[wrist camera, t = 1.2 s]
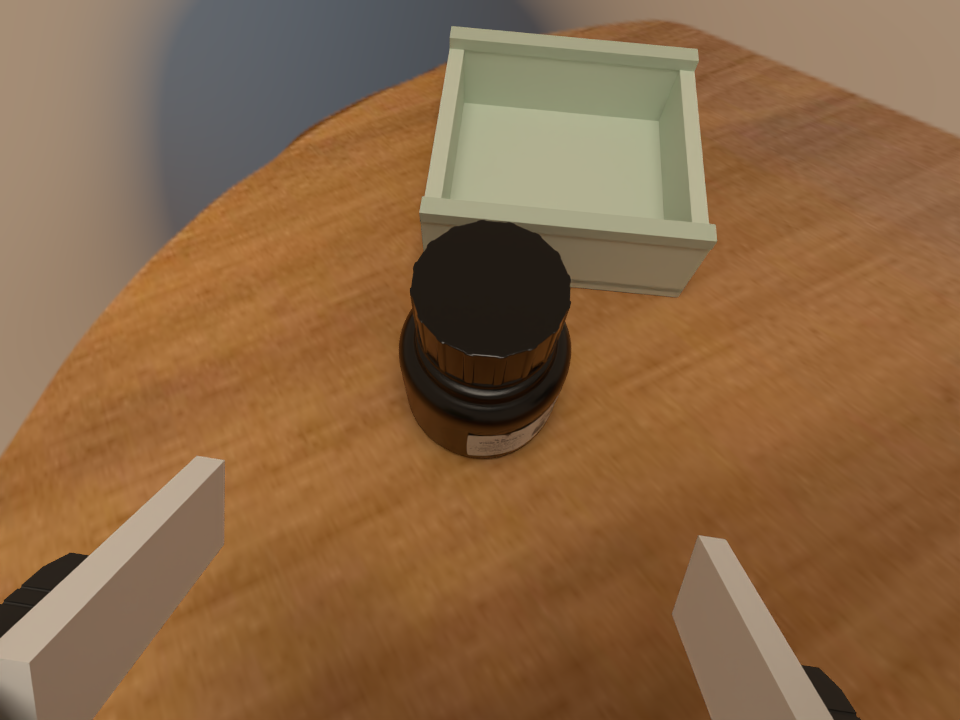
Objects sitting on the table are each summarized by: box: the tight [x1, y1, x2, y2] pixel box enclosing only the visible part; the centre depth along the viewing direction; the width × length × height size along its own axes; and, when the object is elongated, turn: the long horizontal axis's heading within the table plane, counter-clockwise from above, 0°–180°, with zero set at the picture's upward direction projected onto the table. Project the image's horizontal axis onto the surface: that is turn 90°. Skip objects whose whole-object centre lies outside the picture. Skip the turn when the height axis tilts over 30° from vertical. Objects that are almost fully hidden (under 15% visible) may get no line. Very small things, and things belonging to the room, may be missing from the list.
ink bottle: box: [399, 220, 571, 458], centre depth 29 cm, size 10×9×12 cm
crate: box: [419, 26, 717, 297], centre depth 38 cm, size 17×16×6 cm
